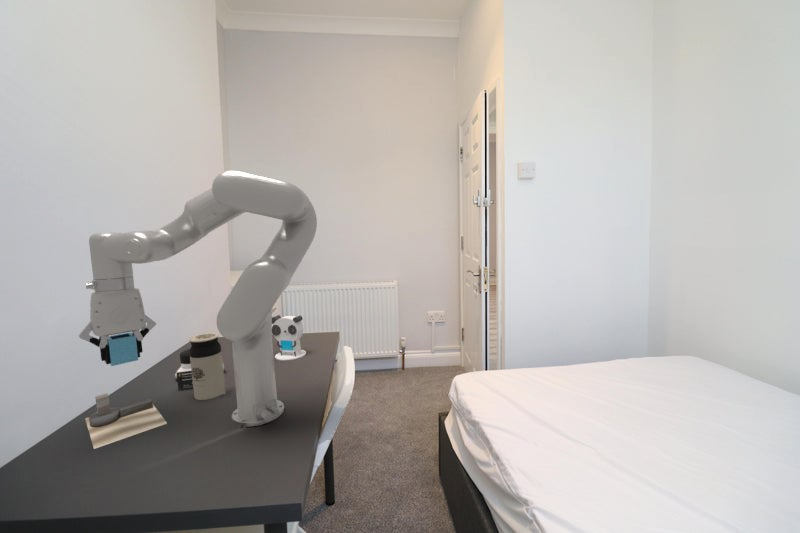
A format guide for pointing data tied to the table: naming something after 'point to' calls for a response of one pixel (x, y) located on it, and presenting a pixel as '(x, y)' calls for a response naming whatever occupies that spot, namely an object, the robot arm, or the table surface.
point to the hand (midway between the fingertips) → (122, 358)
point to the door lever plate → (121, 421)
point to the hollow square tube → (122, 348)
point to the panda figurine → (288, 336)
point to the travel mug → (206, 366)
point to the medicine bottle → (185, 372)
